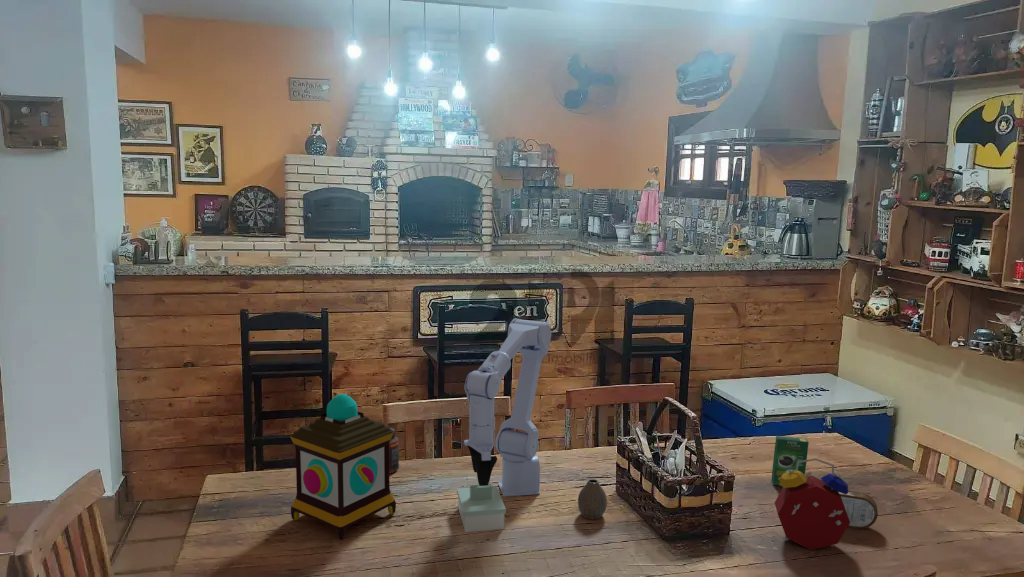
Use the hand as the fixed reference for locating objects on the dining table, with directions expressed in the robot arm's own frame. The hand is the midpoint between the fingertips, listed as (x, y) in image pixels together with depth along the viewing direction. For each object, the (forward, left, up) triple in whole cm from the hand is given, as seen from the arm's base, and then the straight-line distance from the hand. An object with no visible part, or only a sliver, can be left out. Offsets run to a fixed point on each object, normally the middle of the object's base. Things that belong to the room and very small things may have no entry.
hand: (480, 478), depth 168 cm
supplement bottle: (+20, -32, -10) cm, 39 cm away
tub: (0, 0, -10) cm, 10 cm away
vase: (-27, +3, -10) cm, 29 cm away
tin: (-84, +17, -10) cm, 86 cm away
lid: (0, 0, -7) cm, 7 cm away
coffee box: (-84, -5, -10) cm, 84 cm away
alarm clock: (-70, +25, -10) cm, 75 cm away
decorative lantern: (+31, -6, -10) cm, 34 cm away
